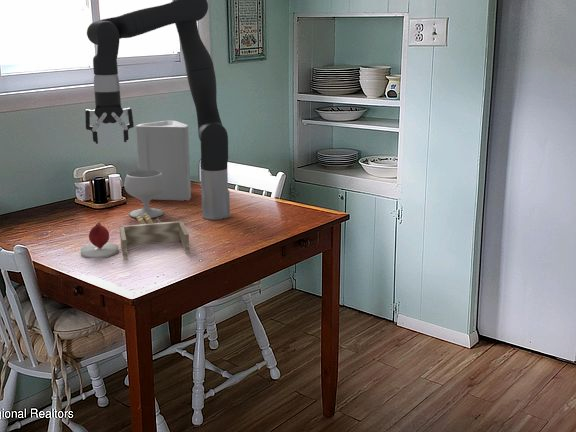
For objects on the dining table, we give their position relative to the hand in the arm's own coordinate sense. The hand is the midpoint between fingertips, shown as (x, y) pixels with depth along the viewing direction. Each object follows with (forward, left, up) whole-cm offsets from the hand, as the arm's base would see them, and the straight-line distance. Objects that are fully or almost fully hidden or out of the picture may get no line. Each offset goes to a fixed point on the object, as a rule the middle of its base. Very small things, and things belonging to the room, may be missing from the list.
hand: (111, 142), depth 213 cm
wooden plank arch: (-10, +17, -30) cm, 36 cm away
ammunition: (-10, -4, -30) cm, 33 cm away
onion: (+6, +15, -29) cm, 33 cm away
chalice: (-11, -21, -30) cm, 38 cm away
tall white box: (-22, -46, -30) cm, 59 cm away
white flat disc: (+6, +15, -30) cm, 34 cm away
